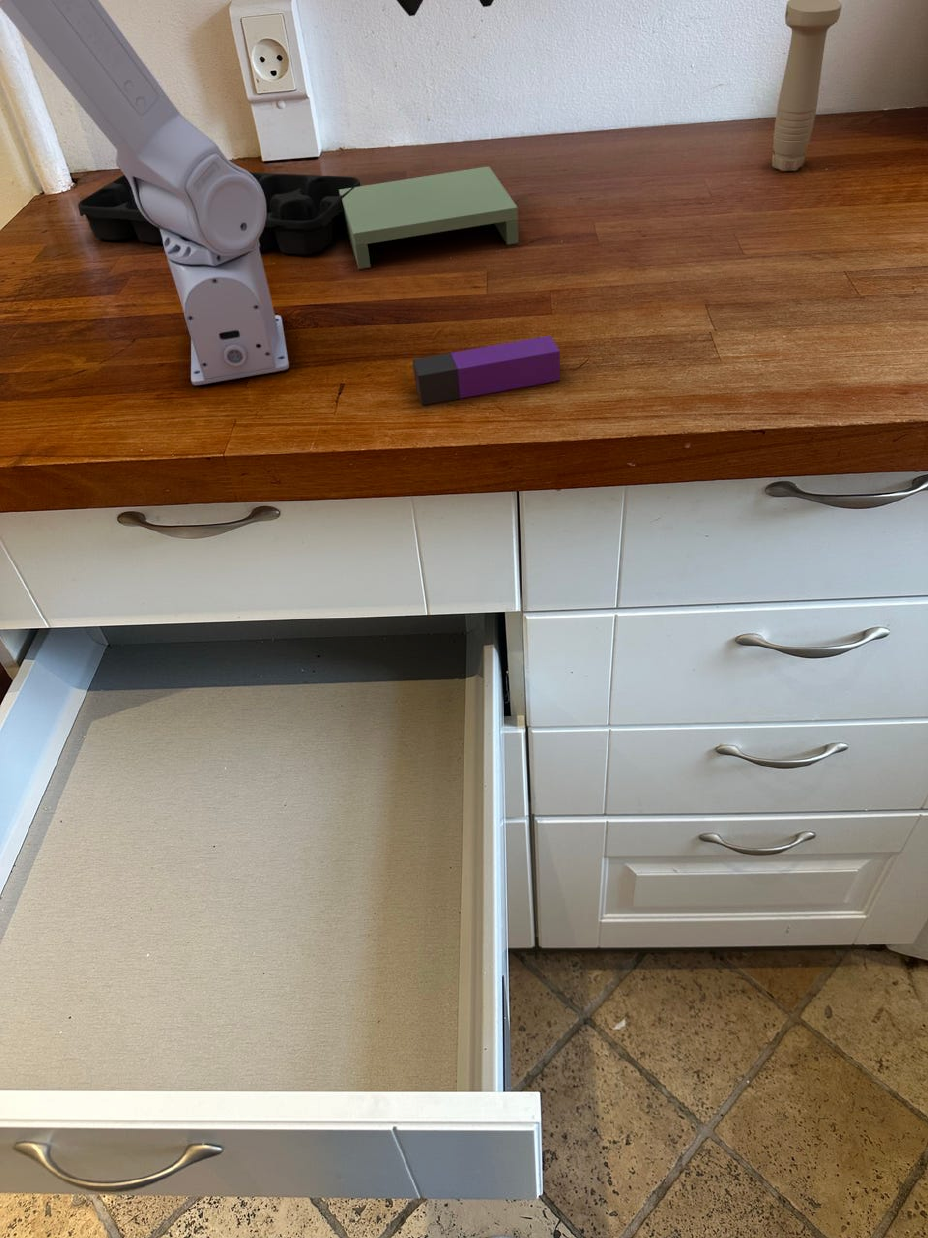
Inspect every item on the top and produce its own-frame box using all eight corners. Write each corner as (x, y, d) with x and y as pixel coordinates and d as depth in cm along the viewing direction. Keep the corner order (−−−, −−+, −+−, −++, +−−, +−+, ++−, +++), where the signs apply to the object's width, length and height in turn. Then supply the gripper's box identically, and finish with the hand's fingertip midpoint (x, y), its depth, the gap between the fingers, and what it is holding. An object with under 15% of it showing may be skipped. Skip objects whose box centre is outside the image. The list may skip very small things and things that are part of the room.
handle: (804, 155, 101) (832, -6, 90) (816, 176, 96) (847, 9, 86) (759, 157, 101) (782, -3, 91) (769, 179, 97) (794, 13, 86)
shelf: (518, 243, 90) (517, 206, 88) (358, 269, 89) (353, 233, 86) (490, 200, 99) (489, 165, 96) (344, 223, 97) (338, 189, 95)
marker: (560, 381, 71) (560, 350, 69) (421, 405, 70) (418, 375, 68) (550, 365, 73) (550, 334, 71) (416, 389, 72) (412, 359, 70)
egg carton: (126, 199, 107) (115, 165, 104) (377, 191, 103) (372, 155, 100) (62, 264, 95) (48, 227, 92) (344, 258, 90) (337, 219, 88)
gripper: (485, -238, 64) (545, -42, 75) (326, -193, 71) (403, -21, 82) (445, -170, 62) (513, 20, 73) (287, -131, 69) (370, 36, 81)
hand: (453, 2), depth 78 cm, fingers open, 7 cm apart
